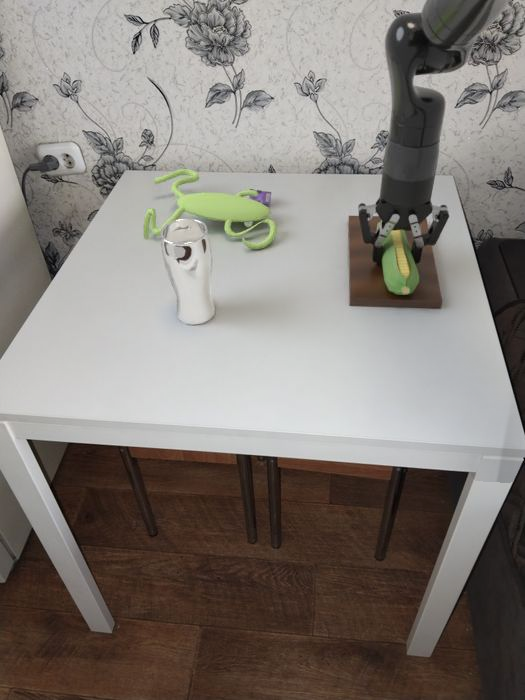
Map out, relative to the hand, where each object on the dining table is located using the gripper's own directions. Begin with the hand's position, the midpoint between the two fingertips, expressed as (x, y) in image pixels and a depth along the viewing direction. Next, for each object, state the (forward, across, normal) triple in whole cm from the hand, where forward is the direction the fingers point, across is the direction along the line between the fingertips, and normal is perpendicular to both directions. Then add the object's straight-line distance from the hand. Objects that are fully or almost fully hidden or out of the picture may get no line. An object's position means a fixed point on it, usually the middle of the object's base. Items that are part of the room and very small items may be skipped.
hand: (395, 262), depth 97 cm
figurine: (+2, -34, +15) cm, 37 cm away
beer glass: (+2, -31, -12) cm, 34 cm away
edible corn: (+1, 0, 0) cm, 1 cm away
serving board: (+2, 0, +3) cm, 4 cm away
